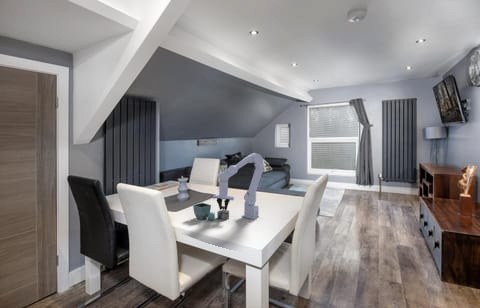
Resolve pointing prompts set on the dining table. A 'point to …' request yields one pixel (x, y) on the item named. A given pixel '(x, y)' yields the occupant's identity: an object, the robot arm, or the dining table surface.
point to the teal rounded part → (211, 216)
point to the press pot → (223, 215)
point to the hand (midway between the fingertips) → (223, 209)
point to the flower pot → (201, 210)
